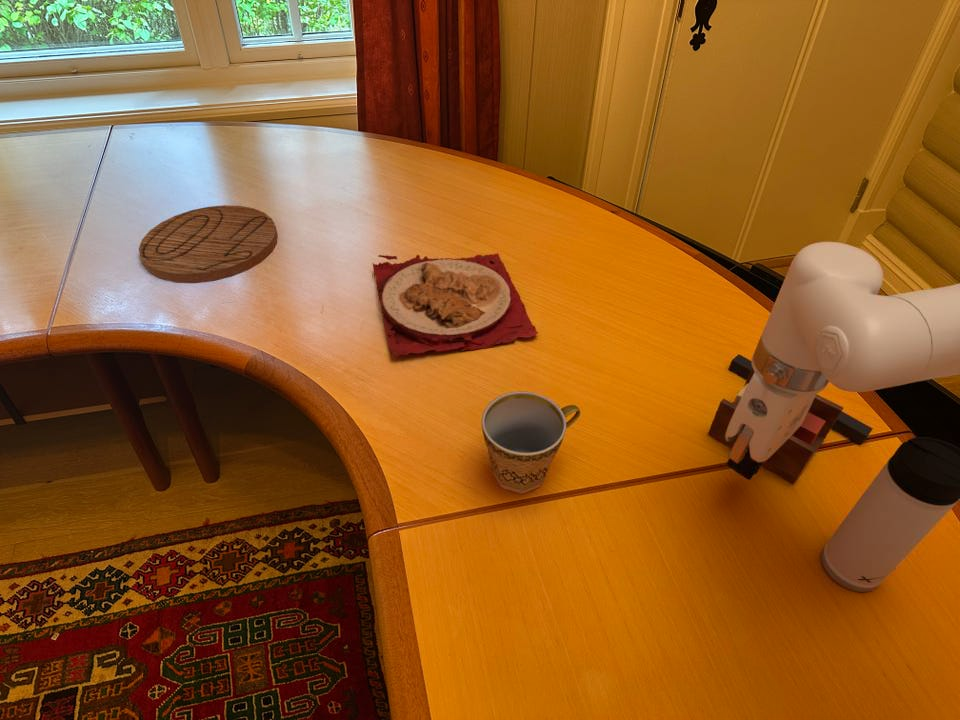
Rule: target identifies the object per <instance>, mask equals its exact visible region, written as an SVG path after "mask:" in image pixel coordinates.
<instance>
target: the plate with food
mask: <svg viewBox="0 0 960 720" xmlns="http://www.w3.org/2000/svg"><path fill="white" fill-rule="evenodd" d="M378 257H379V258H383V259H386V260H388V261H386V262H379V263H377V264H376V263H375V264H374V263H372V270H373V275H374V276H375V279H376V280H375V283H376V289H377V294H378V299H379V303H380V309H381V312H382V319H383V324H384V328H385V334H386V338H387V339H386V340H387V344H388V349H389V353H390V354H392V355H394V356H395V357H399V356H400V355H401V356H409V354H425V353H426V352H430V351H436V352H437V353H438V352H443V351H444V352H445V351H450V350H452V351H453V350H457V349H460V348H462V349H460V351H461V352H463V351H465V352H466V351H474V350H479V349H489V348H495V345H500V344H509V343H512V342H514V341H516V340H517V339H518V338H525V339H526V338H532V337H535V336H536V335H538V333H539V332H538V331H537V330H536V326H535V325H533V323H532V321H531V319H530V317H529V315H528V313H527V309H526V306H525V303H524V302H523V301H522V299H521V295H520V294H519V292H518V290H517V288H516V287H515V284H514V283H513V281H512V278H511V276H510V273H509V271H507V269H506V266H505V263H504V262H503V261H502V260H501V257H500V254H499V252H497V253H494V254H492V253H490V254H485V255H482V254H476V255H475V256H471V257H460V258H452V257H444V258H442V257H441V258H430V257H427V256H426V255H425V256H424V257H423V258H421V256H420V254H416V256H415V257H413V258H410V259H409V260H405V261H404V262H399V263H397V262H394V263H391V262H389V261H392V260H398V257H397V255H388V254H387V255H383V254H379V255H378ZM491 262H492V263H493V264H492V263H491Z"/></svg>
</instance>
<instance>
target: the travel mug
mask: <svg viewBox="0 0 960 720" xmlns="http://www.w3.org/2000/svg"><path fill="white" fill-rule="evenodd" d="M959 501H960V447H958V446H956V445H955V444H952V442H951V443H950V442H948V441H945V440H942V439H938V438H934V437H927V436H914V437H913V438H909V439H908V440H907V441H903V442H902V443H901V444H900V445H899V446H898V448H897V449H896V450H895V452H894V453H893V454H892V455H891V457H889V459H888V460H887V461H886V463H885V464H884V465H883V467H882V468H881V469H880V471H879V472H878V473H877V474H876V476H875V478H874V479H873V480H872V481H871V482H870V484H869V485H868V487H867V488H866V489H865V491H864V492H863V493H862V495H861V496H860V498H859V499H858V500H857V501H856V502H855V504H854V506H853V507H852V508H851V509H850V511H849V512H848V514H847V515H845V518H844V519H843V520H842V522H841V523H840V524H839V525H838V527H837V528H836V530H835V531H834V533H832V535H831V536H830V538H829V539H828V541H827V542H825V544H824V546H823V548H822V549H821V552H820V560H821V565H822V566H823V568H824V570H825V571H826V573H827V574H828V576H830V578H831V579H832V580H833V581H834V582H836V583H837V584H839V585H840V586H842V587H843V588H846V589H848V590H850V591H853V592H858V593H859V592H860V593H869V592H872V591H874V590H876V589H877V588H878V587H879V586H880V585H881V584H882V583H883V582H884V581H885V580H886V579H887V578H888V577H889V576H890V575H891V573H892V572H893V571H894V570H896V568H897V567H898V566H899V565H900V564H901V563H902V562H903V560H905V559H906V557H908V555H909V554H910V553H911V552H912V551H913V550H914V549H915V548H916V547H917V546H918V545H919V544H920V542H921V541H922V540H923V539H924V538H925V537H926V536H927V535H928V534H929V533H930V532H931V531H932V530H933V529H934V528H935V527H936V526H937V525H938V524H939V522H941V520H942V519H944V517H945V516H946V515H947V514H948V513H949V512H950V511H951V510H952V509H953V507H955V505H956V504H957V503H958V502H959Z"/></svg>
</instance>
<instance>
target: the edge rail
mask: <svg viewBox="0 0 960 720" xmlns="http://www.w3.org/2000/svg"><path fill="white" fill-rule="evenodd" d="M751 360H752V359H749V358H747V357H745V356H743V355H742V354H741V353H740V354H739V353H738V354H737V355H735V357H733V358H732V360H731V361H730V364H729V366H728V370H729V371H731V372H733V373H734V374H736V375H738V376H739V377H741V378H743V379H744V380H745V381H746V380H747V378H748V376H749V373H750V371H751V369H752V363H751ZM873 429H874V428H873V427H871V426H869V425H867V424H866V423H864V422H862V421H861V420H859V419H857V418H855V417H853V416H851V415H849V414H848V413H846V412H844V411H842V412H841V413H840V415H839V417H838V418H837V420H836V422H835V423H834V425H833V426H832V428H831V430H833V431H834V432H836V433H838V434H839V435H841V436H843V437H845V438H846V439H848V440H850V441H852V442H853V443H855V444H857V445H859V446H862V444H863V443H864V442H865V441H866V440H867V438H868V437H869V436H870V434H871V432H872V431H873Z"/></svg>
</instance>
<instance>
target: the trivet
mask: <svg viewBox="0 0 960 720" xmlns="http://www.w3.org/2000/svg"><path fill="white" fill-rule="evenodd" d="M278 236H279V234H278V229H277V227H276V224H275V222H274V220H273V218H272V217H270V216H269V215H268V214H267V213H265V212H264V211H261V210H259V209H256V208H253V207H248V206H243V205H230V204H229V205H228V204H224V205H213V206H204V207H201V208H196V209H195V208H194V209H191V210H187V211H185V212H182V213H178V214H176V215H173V216H171V217H170V218H168V219H165V220H163V221H161V222H160V223H157V225H155V226H154V227H152V228H151V229H150V230H149V231H147V233H146V234H145V235H144V237H143V238H142V239H141V241H140V243H139V246H138V253H139V258H140V260H141V263H142V264H143V266H144V268H145V269H146V270H147V271H148V272H149V274H151V275H153V276H155V277H157V278H159V279H161V280H166V281H169V282H174V283H186V284H187V283H188V284H189V283H190V284H195V283H196V284H198V283H205V282H214V281H217V280H222V279H225V278H226V279H227V278H230V277H233V276H236V275H239V274H241V273H243V272H246V271H249V270H250V269H252V268H253V267H256V266H257V265H259V264H261V263H262V262H263V261H265V260H266V259H267V258H268V257H269V256H270V255H271V254H272V253H273V251H274V250H275V248H276V246H277V244H278Z"/></svg>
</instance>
